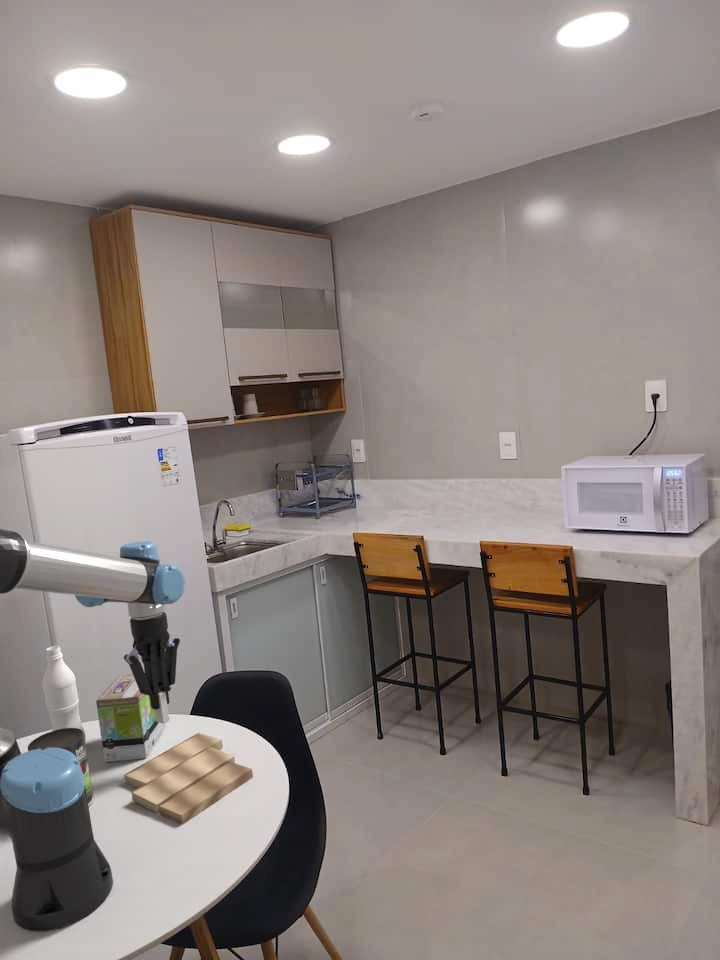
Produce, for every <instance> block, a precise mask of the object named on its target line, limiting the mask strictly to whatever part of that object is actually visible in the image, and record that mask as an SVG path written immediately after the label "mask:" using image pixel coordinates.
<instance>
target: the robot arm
mask: <svg viewBox="0 0 720 960" xmlns="http://www.w3.org/2000/svg"><path fill="white" fill-rule="evenodd" d="M119 553H120V554H119V557H118V556H113V555H107V554H102V553H101V554H100V553H97V552H91V551H85V550H80V549H74V548H69V547H63V546H57V545H51V544H46V543H40V542H35V541H30V540H26V538H25V537H24V535H22V534H21V533H19V532H16V531H12V530H8V529H7V530H6V529H2V528H0V594H3V595H4V594H8V593H10V592H12V591H14V590H16V589H18V590H24V591H26V590H27V591H35V592H46V593H51V594H61V595H70V596H74V597H75V599H76V600H77V602H78V603H79V604H80V605H81V606H83V607H86V608H95V607H99V606H103V604H105V603H122V604H124V603H126V605H127V612H128V617H130V619H129V624H130V632H131V635H132V638H133V642H132V643H133V644H132V650H131V651H130V652H129V653H128V654H125V655H124V656H123V660H124V661H125V662H126V663H127V664H128V665H129V667H130V670H131V674H133V675H134V678H135V681H136V683H137V686H138V688H139V691H140V693H141V694H145V695H149V696H150V703H151V708H152V709H154V711H155V718H156V722H159V723H163V724H164V723H165V724H166V723H168V722H170V717H169V714H170V713H169V707H168V705H170V697H169V692H170V691H171V690H172V687H171V686H172V685H174V684H176V676H177V675H176V673H177V656H178V647H179V646H180V642H181V640H180V638H179V637H173V636H171V634H170V633H169V631H168V629H169V625H168V617H167V616H168V615H167V613H166V612H165V611H166V605H173V604H175V603H177V602H178V601H179V600H180V599H181V597H182V596H183V594H184V591H185V584H186V580H185V575H184V572H183V571H182V570H181V568H180V567H179V566H176V565H175V564H169V563H163V562H162V563H160V562H161V561H160V557H159V552H158V548H157V544H156V543H155V542H153V541H149V540H142V541H135V542H130V543H126V544H124V545H122V546H121V547H120V548H119ZM139 656H140V657H139ZM140 659H141V661H140ZM141 662H142V663H141ZM89 807H90V806H89ZM89 807H88V801H87V794H86V788H85V778H84V775H83V772H82V769H81V766H80V763H79V760H78V759H77V757H76V756H75V755H74V754H73V753H71V752H70V751H67V750H65V749H61V748H46V749H44V750H41V749H35V750H31V751H28V750H27V751H25V752H23V753H22V752H21V750H20V747H19V743H18V742H17V738H16V736H15V734H14V732H13V731H11V730H10V729H7V728H6V729H5V728H2V727H1V725H0V835H4V836H7V837H9V838H10V840H11V842H12V844H11V845H12V848H13V853H14V858H15V864H16V871H15V878H14V883H13V890H12V894H11V895H12V896H11V900H10V901H11V902H10V903H11V910H12V911H11V912H12V916H13V917H12V918H13V920H14V921H13V922H15V924H16V926H18V927H19V928H21V929H23V930H25V931H31V932H46V931H50V930H56V929H59V928H62V927H65V926H68V925H70V924H73V923H75V922H77V921H80V920H81V919H83V918H84V917H86V916H88V915H89V914H90V913H91V914H92V912H94V911H95V910H97V909H98V908H99V907H100V906H101V905H102V904H103V902H104V901H105V900H106V899H107V897H108V896H109V895H110V893H111V891H112V890H113V886H114V885H113V884H114V879H113V874H112V873H113V872H112V869H111V865H110V863H109V861H108V859H107V858H106V856H105V855H104V852H103V851H102V850H101V848H100V847H99V845H98V843H97V841H96V840H95V838H94V837H95V836H94V833H93V832H94V831H93V826H92V821H91V820H92V819H91V815H90V809H89Z"/></svg>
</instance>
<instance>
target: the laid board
mask: <svg viewBox="0 0 720 960" xmlns="http://www.w3.org/2000/svg"><path fill="white" fill-rule="evenodd" d="M253 778H254V774H253V769H252V768H251V767H247V766H245V765H242V764H238V763H236V762H235V763H233V762H230V761H228V762H226V763H224V764H223V765H221V766H220V767H218V768H216V769H215V770H213V771H212V772H210V773H208V774H207V775H205V776H204V777H202V778H200V779H199V780H197V781H196V782H194V783H192V784H191V785H189V786H188V787H186V788H185V789H183V790H181V791H180V792H178V793H177V794H175V795H173V796H172V797H170V798H169V799H167V800H165V801H164V802H162V803H161V804H159V805H158V808H159V813H158V814H159V815H160V816H162V817H165V818H167V819H170V820H173V821H174V822H177V823H178V824H182V825H184V824H185V823H187V822H189V821H190V820H192V819H193V818H194V817H196V816H198V815H199V814H200V813H202V812H204V811H205V810H206V809H207V808H210V807H211V806H212V805H214V804H216V802H218V801H220V800H221V799H222V798H224V797H226V796H227V795H228V794H230V793H231V792H233V791H234V790H236V789H238V788H239V787H240V786H242V785H243V784H245V783H247V782H248V781H249V780H251V779H253Z"/></svg>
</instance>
